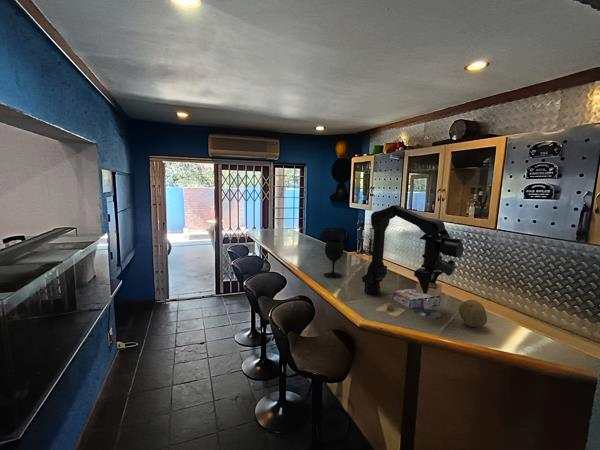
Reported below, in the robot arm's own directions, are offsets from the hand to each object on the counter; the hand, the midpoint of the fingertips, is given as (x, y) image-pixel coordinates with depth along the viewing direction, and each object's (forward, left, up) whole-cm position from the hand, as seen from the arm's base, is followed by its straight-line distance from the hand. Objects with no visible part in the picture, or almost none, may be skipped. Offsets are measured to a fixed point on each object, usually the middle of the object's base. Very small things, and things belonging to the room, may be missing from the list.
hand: (428, 291), depth 116 cm
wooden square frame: (0, 0, 0) cm, 0 cm away
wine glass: (-57, +16, -10) cm, 60 cm away
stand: (-12, -8, -10) cm, 17 cm away
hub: (0, 0, -10) cm, 10 cm away
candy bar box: (-4, +17, -8) cm, 19 cm away
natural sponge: (+15, +3, -10) cm, 19 cm away
